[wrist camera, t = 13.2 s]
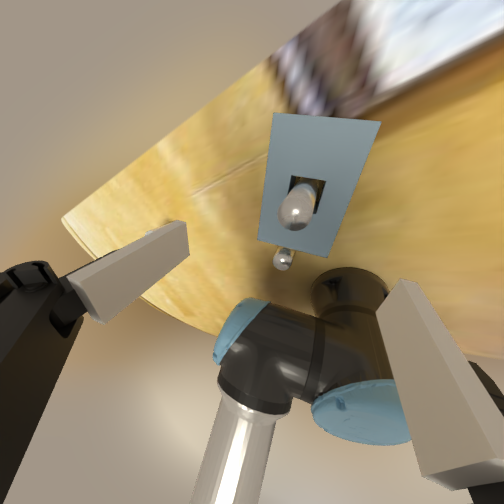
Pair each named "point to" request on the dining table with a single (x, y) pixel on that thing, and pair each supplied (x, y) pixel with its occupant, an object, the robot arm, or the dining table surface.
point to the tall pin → (298, 205)
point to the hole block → (313, 175)
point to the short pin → (283, 258)
